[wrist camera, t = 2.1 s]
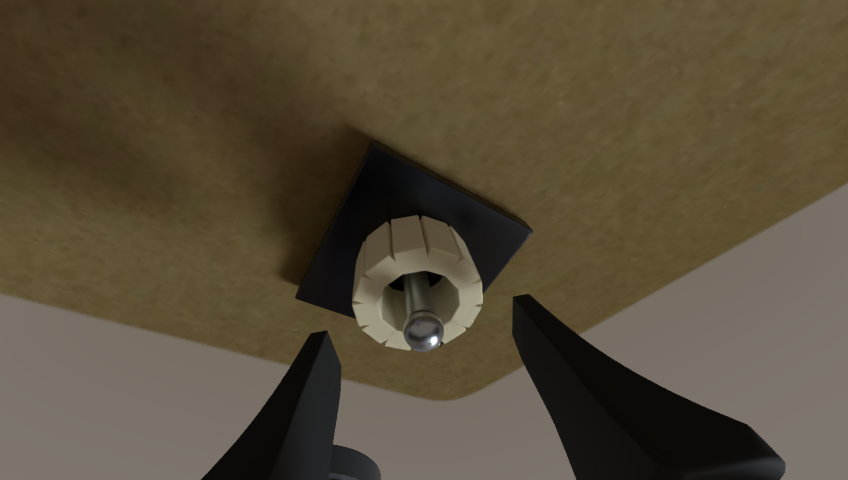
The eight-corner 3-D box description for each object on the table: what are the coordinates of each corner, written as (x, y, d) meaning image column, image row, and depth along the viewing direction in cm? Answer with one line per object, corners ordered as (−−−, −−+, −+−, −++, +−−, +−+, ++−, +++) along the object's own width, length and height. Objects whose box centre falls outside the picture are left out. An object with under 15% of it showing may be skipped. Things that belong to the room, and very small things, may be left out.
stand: (526, 222, 17) (593, 299, 12) (438, 335, 21) (459, 435, 15) (372, 138, 14) (368, 191, 9) (298, 287, 18) (263, 390, 12)
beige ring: (470, 297, 18) (485, 338, 16) (370, 315, 18) (368, 359, 15) (463, 206, 15) (480, 237, 13) (344, 226, 15) (337, 262, 13)
